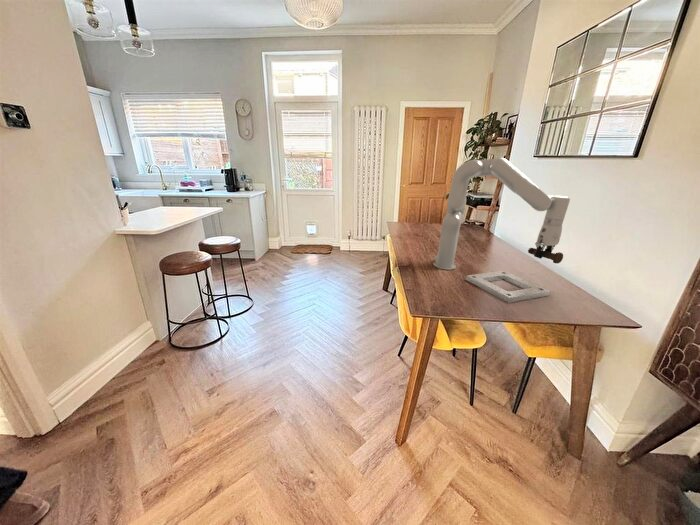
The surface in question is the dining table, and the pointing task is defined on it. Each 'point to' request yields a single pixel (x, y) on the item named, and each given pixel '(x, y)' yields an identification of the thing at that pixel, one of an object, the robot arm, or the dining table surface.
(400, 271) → the dining table surface
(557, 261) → the bolt
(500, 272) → the plate
